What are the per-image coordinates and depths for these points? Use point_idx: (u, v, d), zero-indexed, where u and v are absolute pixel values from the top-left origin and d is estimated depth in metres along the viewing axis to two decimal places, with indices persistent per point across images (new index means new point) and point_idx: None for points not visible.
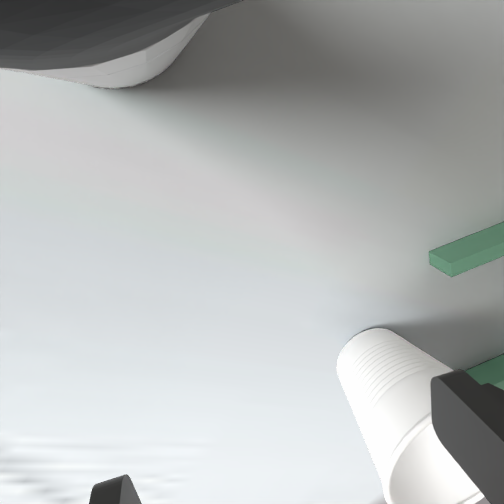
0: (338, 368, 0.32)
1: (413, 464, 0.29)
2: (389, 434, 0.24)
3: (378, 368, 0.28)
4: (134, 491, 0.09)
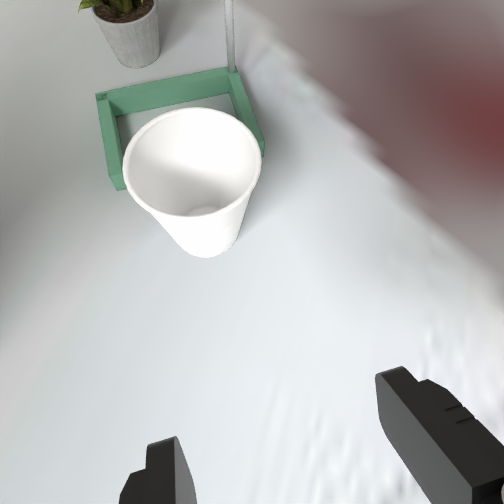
0: (203, 255, 0.36)
1: None
2: (162, 219, 0.28)
3: None
4: (182, 453, 0.10)
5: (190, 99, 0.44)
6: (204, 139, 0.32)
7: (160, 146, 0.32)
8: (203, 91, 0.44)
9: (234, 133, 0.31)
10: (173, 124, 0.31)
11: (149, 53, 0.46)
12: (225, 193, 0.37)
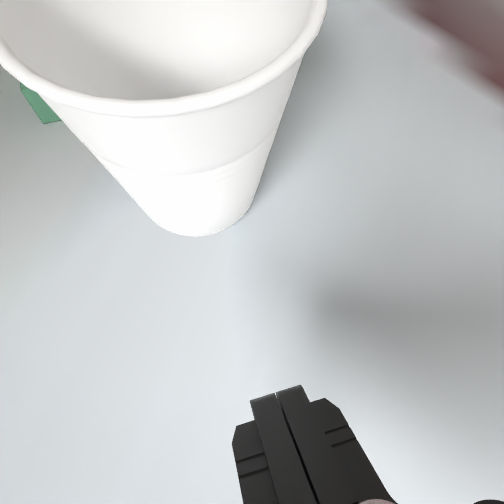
0: (190, 233, 0.19)
1: None
2: (80, 122, 0.11)
3: None
4: None
5: None
6: None
7: None
8: None
9: None
10: None
11: None
12: None
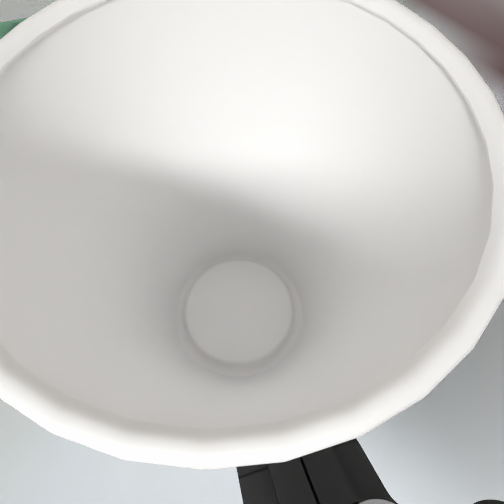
0: None
1: (396, 227, 0.10)
2: None
3: None
4: None
5: None
6: (242, 85, 0.11)
7: (111, 105, 0.10)
8: None
9: (352, 51, 0.09)
10: (146, 27, 0.09)
11: None
12: (283, 230, 0.15)
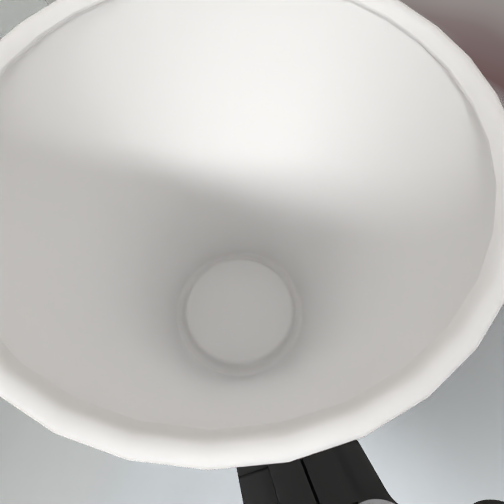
0: None
1: (398, 226, 0.10)
2: None
3: None
4: None
5: None
6: (244, 85, 0.11)
7: (112, 104, 0.10)
8: None
9: (354, 51, 0.09)
10: (147, 26, 0.09)
11: None
12: (284, 229, 0.15)
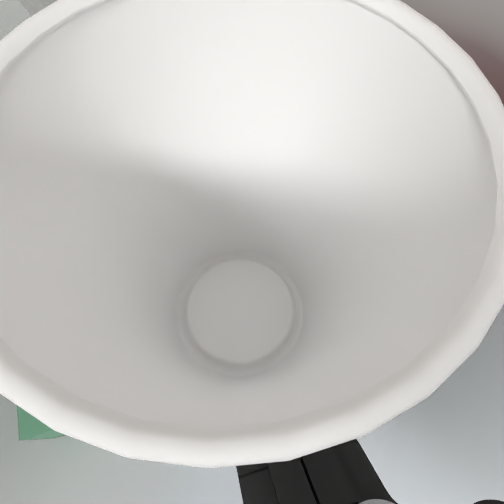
0: None
1: (398, 227, 0.10)
2: None
3: None
4: None
5: None
6: (245, 85, 0.11)
7: (114, 103, 0.10)
8: None
9: (355, 51, 0.09)
10: (149, 25, 0.09)
11: None
12: (284, 229, 0.15)
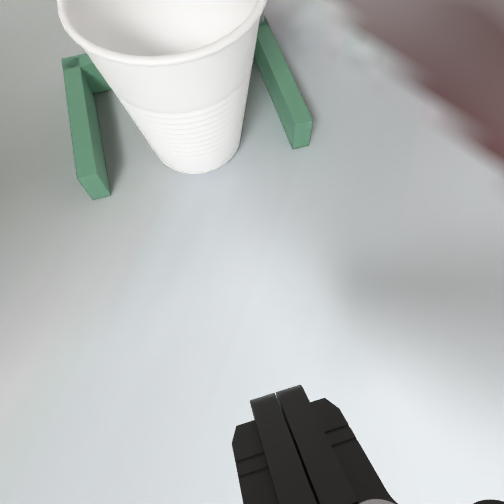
0: (191, 170, 0.26)
1: None
2: (119, 74, 0.18)
3: (131, 116, 0.23)
4: None
5: None
6: None
7: None
8: None
9: None
10: None
11: None
12: None
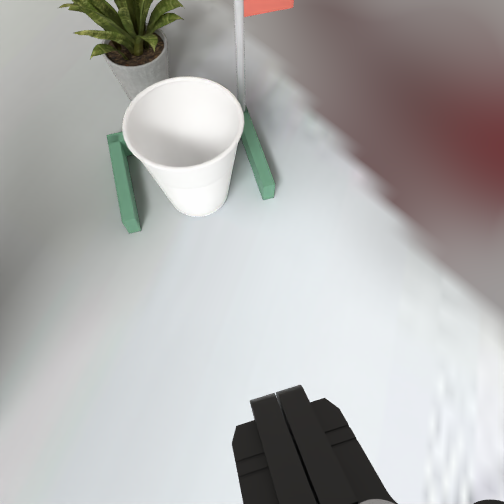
0: (195, 214, 0.40)
1: None
2: (157, 172, 0.32)
3: (159, 184, 0.36)
4: None
5: None
6: (194, 107, 0.36)
7: (156, 112, 0.36)
8: None
9: (221, 99, 0.35)
10: (166, 92, 0.35)
11: None
12: None
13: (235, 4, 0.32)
